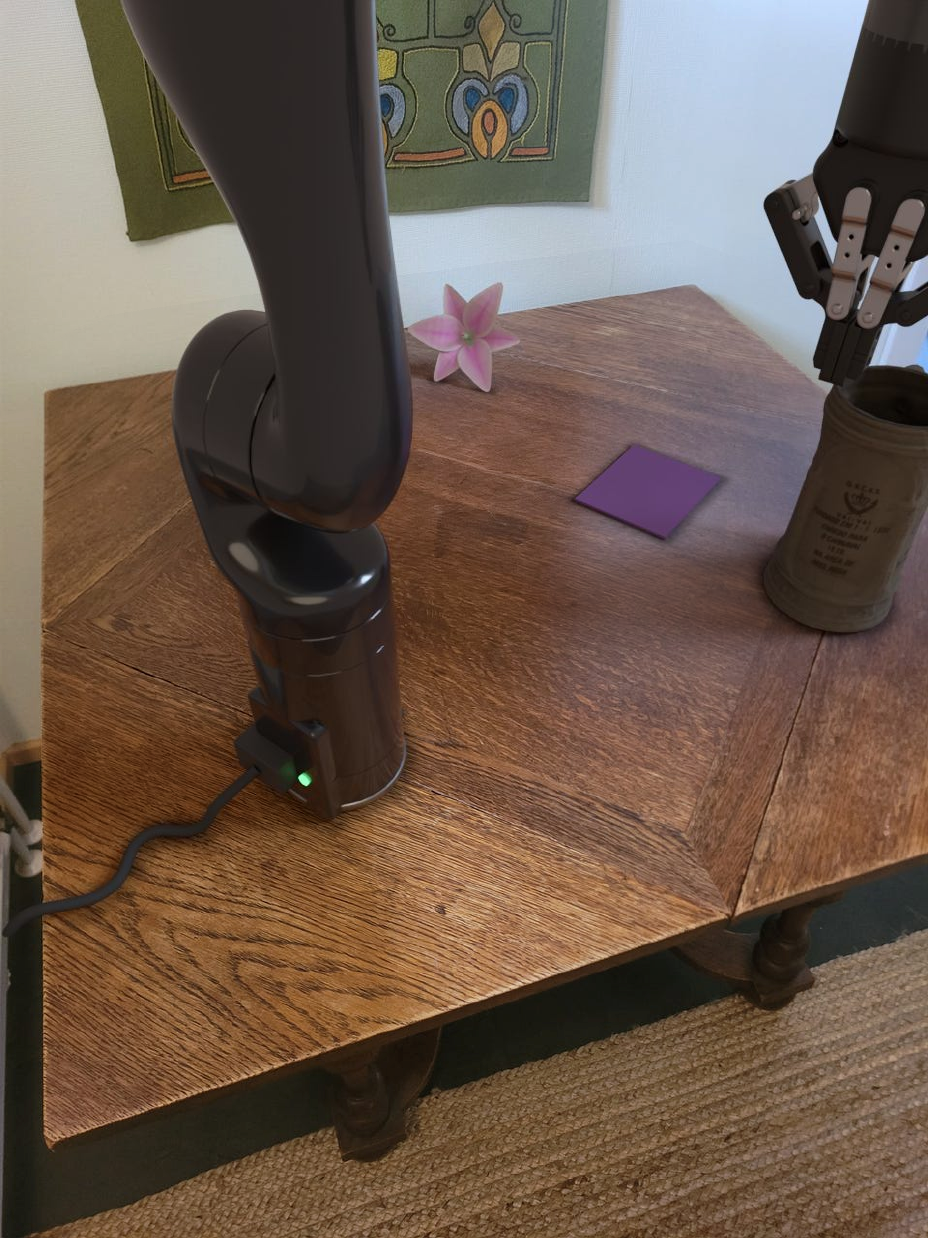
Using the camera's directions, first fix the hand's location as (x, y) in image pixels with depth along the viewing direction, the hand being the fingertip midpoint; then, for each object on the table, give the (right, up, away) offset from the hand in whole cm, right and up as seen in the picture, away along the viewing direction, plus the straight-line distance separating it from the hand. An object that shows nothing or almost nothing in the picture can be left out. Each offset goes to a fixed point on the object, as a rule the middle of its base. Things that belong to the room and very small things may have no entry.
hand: (836, 378), depth 51 cm
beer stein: (+11, -10, +28) cm, 32 cm away
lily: (-21, +16, +55) cm, 61 cm away
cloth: (-3, -1, +37) cm, 38 cm away
